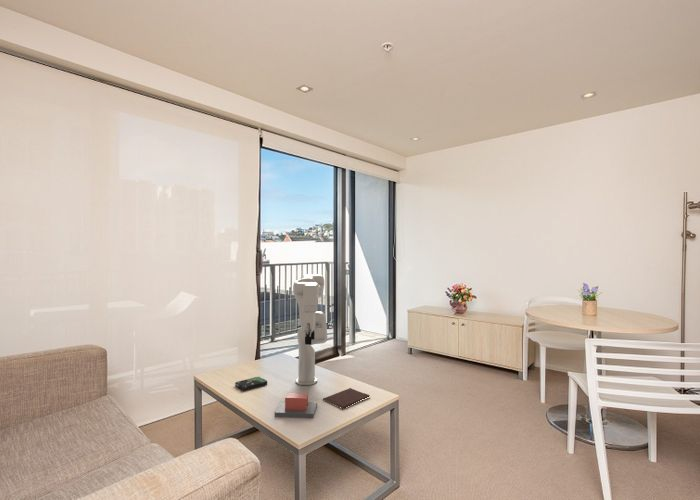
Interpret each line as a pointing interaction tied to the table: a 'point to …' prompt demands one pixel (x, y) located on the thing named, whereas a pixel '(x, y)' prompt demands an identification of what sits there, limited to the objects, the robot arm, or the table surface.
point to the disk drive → (250, 383)
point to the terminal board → (296, 411)
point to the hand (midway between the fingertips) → (309, 341)
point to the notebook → (346, 398)
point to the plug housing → (296, 401)
